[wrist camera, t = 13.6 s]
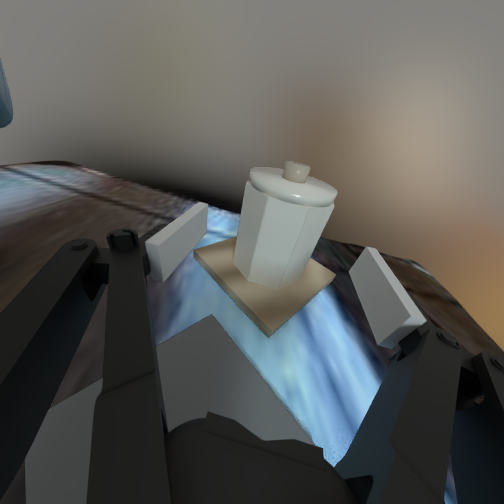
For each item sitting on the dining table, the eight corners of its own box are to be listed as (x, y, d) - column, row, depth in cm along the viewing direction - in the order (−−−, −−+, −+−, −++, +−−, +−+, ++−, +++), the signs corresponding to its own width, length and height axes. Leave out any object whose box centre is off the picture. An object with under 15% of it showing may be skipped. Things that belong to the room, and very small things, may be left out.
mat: (28, 425, 10) (24, 423, 10) (211, 316, 18) (211, 313, 18) (45, 988, 4) (36, 1018, 4) (315, 450, 12) (318, 448, 11)
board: (193, 257, 24) (193, 249, 24) (263, 234, 33) (265, 228, 33) (268, 337, 17) (271, 330, 16) (332, 280, 26) (336, 274, 25)
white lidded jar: (225, 274, 21) (243, 158, 14) (243, 238, 28) (261, 150, 21) (299, 296, 21) (356, 187, 14) (298, 254, 28) (335, 168, 21)
